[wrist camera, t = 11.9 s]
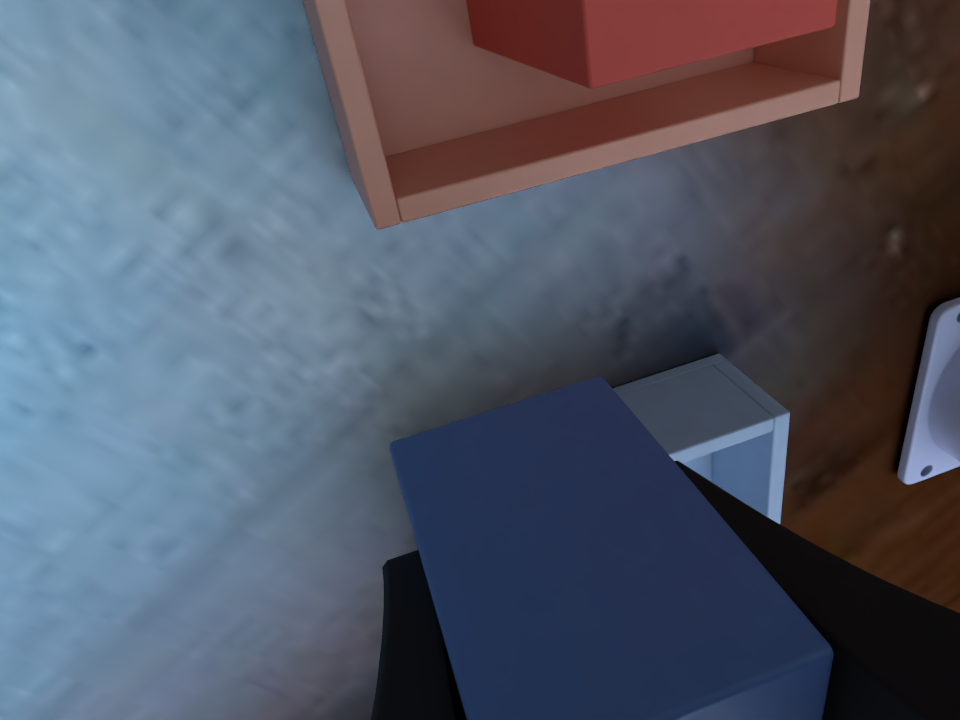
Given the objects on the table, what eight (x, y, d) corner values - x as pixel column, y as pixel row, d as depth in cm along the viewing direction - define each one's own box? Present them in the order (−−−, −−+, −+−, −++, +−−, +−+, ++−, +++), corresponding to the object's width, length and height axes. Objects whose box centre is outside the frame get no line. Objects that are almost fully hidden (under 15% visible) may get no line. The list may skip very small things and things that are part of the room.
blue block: (601, 372, 12) (839, 649, 7) (616, 527, 15) (807, 823, 10) (387, 440, 12) (487, 792, 7) (435, 592, 14) (538, 943, 9)
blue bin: (719, 352, 21) (791, 411, 19) (716, 539, 26) (773, 610, 23) (395, 458, 20) (419, 541, 17) (452, 638, 24) (478, 726, 22)
